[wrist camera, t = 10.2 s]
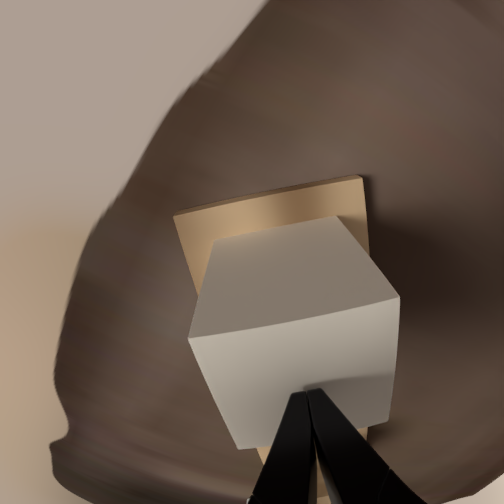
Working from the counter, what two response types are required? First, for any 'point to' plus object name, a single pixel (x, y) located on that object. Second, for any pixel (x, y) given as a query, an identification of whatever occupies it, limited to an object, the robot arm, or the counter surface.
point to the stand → (269, 216)
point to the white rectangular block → (295, 327)
